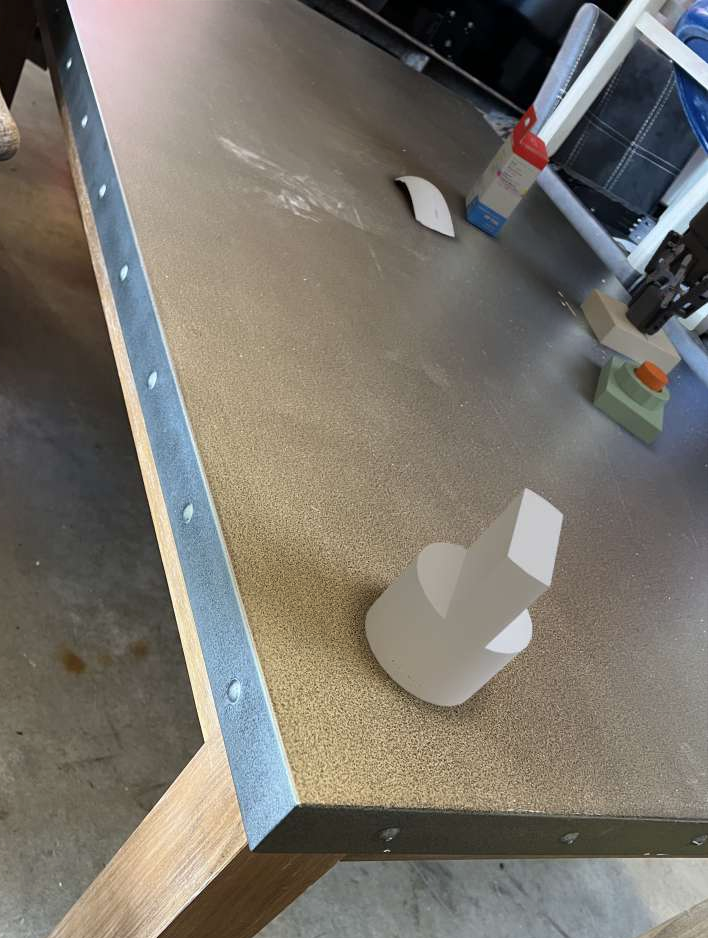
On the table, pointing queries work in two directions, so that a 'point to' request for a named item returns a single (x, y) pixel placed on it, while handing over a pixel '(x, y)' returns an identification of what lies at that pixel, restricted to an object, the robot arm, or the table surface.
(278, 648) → the table surface
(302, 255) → the table surface
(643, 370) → the button
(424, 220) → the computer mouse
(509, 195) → the ink box
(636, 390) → the block
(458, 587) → the cylinder with rectangular tab
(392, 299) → the table surface
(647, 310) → the program dial
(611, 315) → the dial panel
